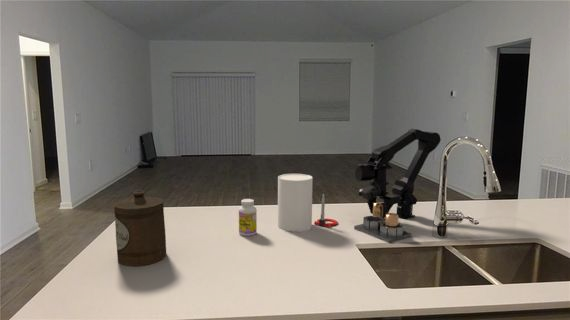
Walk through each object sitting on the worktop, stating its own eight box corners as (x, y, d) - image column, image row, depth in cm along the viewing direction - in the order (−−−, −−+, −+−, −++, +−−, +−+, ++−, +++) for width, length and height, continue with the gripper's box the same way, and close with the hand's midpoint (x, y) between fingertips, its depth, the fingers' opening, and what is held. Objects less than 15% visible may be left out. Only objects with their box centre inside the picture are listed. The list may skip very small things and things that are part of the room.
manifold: (354, 228, 157) (354, 208, 156) (376, 223, 164) (377, 204, 163) (388, 242, 142) (389, 220, 141) (411, 236, 149) (412, 215, 148)
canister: (312, 221, 166) (313, 174, 163) (311, 232, 153) (311, 181, 150) (279, 220, 168) (279, 173, 165) (275, 231, 154) (276, 180, 151)
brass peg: (377, 217, 173) (378, 201, 172) (385, 219, 169) (386, 203, 168) (370, 218, 171) (370, 202, 169) (377, 221, 167) (378, 205, 166)
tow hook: (323, 219, 170) (311, 224, 163) (324, 190, 169) (313, 193, 161) (341, 223, 165) (330, 228, 158) (342, 192, 164) (332, 196, 156)
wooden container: (118, 251, 133) (114, 186, 130) (164, 246, 138) (161, 183, 135) (116, 269, 120) (112, 197, 116) (168, 262, 125) (165, 193, 121)
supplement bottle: (235, 234, 150) (234, 201, 148) (245, 229, 156) (244, 197, 154) (250, 237, 147) (250, 203, 145) (259, 232, 153) (259, 199, 151)
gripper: (349, 177, 171) (348, 213, 173) (382, 186, 155) (380, 224, 158) (369, 175, 177) (367, 209, 179) (402, 182, 161) (400, 220, 163)
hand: (378, 215), depth 170 cm, fingers open, 7 cm apart
